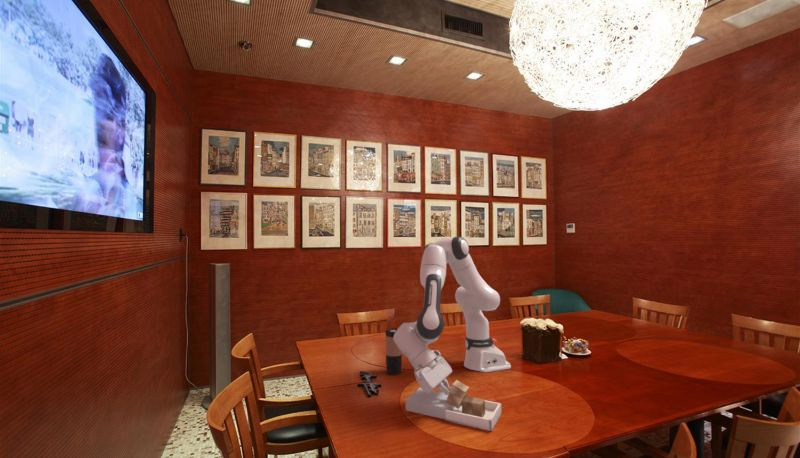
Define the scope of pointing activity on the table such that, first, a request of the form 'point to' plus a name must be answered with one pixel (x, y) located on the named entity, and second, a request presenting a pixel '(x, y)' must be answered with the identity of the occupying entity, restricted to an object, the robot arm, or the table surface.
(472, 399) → the walnut block
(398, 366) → the travel mug
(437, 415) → the white box cover
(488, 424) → the tray
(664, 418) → the table surface
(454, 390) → the oak block
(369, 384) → the nameplate
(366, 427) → the table surface
